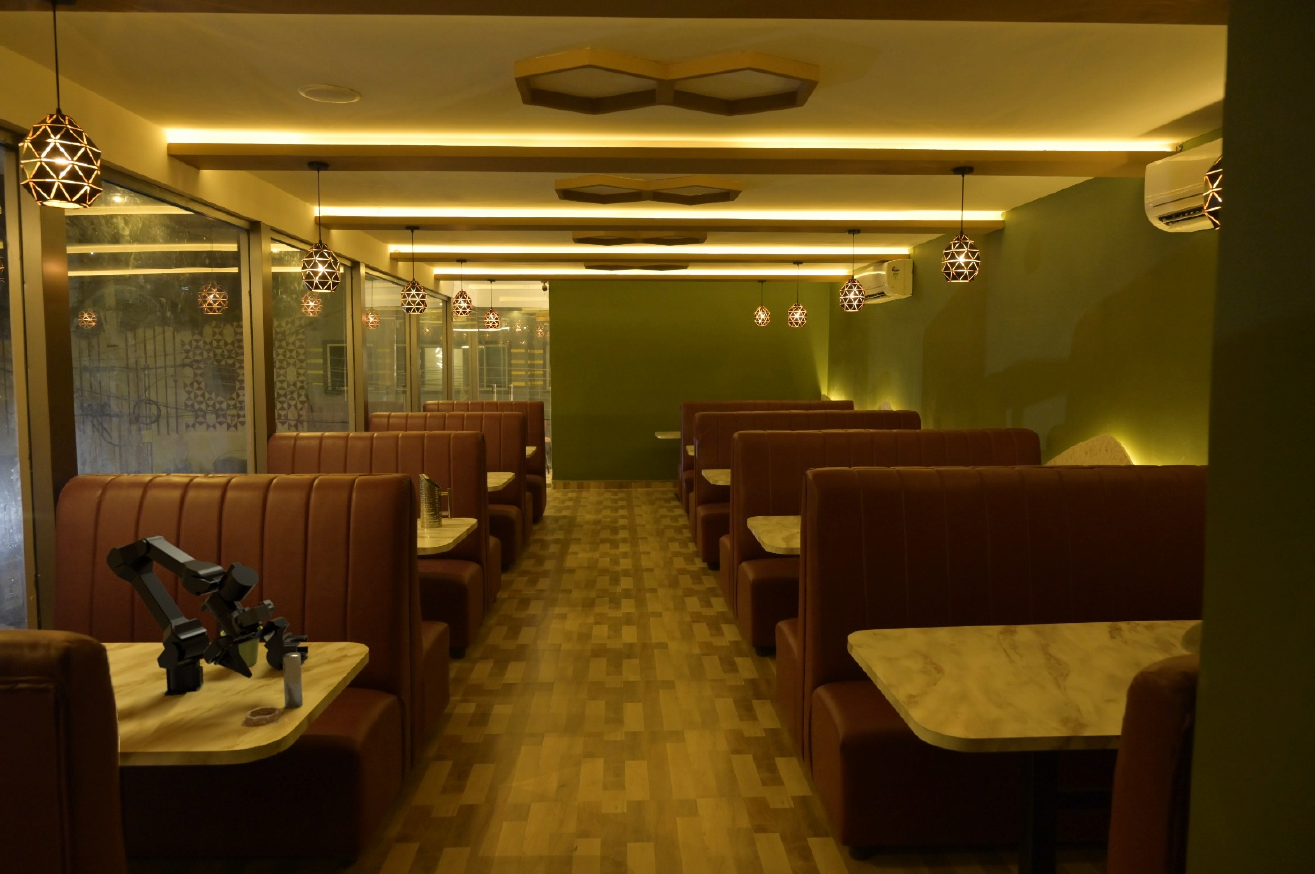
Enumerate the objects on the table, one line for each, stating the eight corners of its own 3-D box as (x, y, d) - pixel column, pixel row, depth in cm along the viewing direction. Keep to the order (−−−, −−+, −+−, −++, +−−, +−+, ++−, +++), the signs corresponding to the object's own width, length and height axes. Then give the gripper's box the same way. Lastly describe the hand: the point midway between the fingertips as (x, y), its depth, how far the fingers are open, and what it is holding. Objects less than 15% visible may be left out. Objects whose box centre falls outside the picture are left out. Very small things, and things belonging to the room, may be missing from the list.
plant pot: (214, 666, 205) (212, 632, 204) (250, 655, 213) (248, 622, 212) (236, 673, 200) (234, 638, 199) (272, 661, 208) (270, 627, 207)
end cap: (280, 658, 211) (279, 632, 210) (309, 656, 212) (308, 631, 211) (266, 672, 201) (265, 644, 200) (296, 670, 202) (295, 643, 201)
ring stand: (241, 730, 167) (241, 720, 167) (249, 718, 173) (248, 707, 173) (277, 727, 168) (277, 716, 168) (284, 714, 175) (283, 704, 175)
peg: (285, 714, 175) (282, 658, 174) (284, 708, 178) (282, 654, 177) (303, 711, 177) (300, 656, 176) (302, 705, 180) (299, 651, 179)
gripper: (210, 602, 171) (251, 661, 168) (282, 581, 189) (320, 634, 185) (185, 634, 175) (224, 693, 172) (257, 611, 192) (294, 664, 189)
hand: (268, 669), depth 179 cm, fingers open, 9 cm apart
